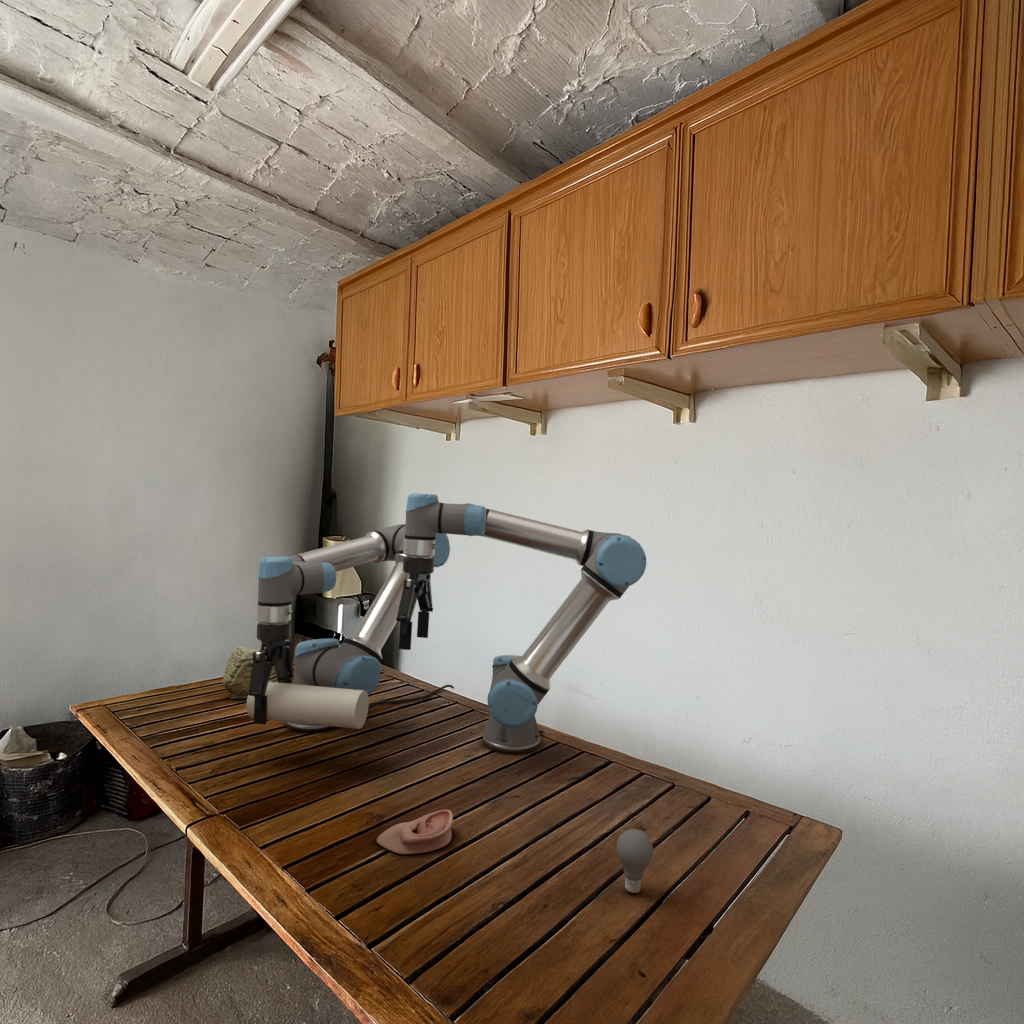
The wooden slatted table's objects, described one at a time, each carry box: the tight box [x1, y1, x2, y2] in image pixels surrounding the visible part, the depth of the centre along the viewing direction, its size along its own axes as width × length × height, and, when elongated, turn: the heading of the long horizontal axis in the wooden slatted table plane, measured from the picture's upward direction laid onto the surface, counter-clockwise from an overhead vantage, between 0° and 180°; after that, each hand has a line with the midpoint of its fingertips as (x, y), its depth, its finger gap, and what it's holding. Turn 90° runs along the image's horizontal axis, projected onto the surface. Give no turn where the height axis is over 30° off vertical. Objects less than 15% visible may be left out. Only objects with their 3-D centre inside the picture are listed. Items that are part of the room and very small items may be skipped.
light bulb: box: [615, 828, 654, 894], centre depth 106 cm, size 6×6×10 cm
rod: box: [246, 682, 370, 730], centre depth 149 cm, size 26×9×9 cm, turn 81°
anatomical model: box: [376, 809, 454, 855], centre depth 119 cm, size 13×4×12 cm
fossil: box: [222, 646, 279, 699], centre depth 198 cm, size 9×18×15 cm, turn 132°
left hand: (270, 716), depth 150 cm, fingers closed on rod, 9 cm apart
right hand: (413, 643), depth 155 cm, fingers open, 13 cm apart
